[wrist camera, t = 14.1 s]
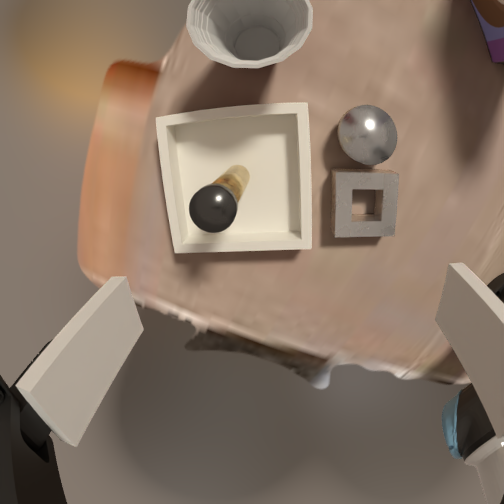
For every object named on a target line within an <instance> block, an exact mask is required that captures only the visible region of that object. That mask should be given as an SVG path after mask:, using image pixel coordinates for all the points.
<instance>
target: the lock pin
mask: <svg viewBox="0 0 504 504" xmlns="http://www.w3.org/2000/svg"><path fill="white" fill-rule="evenodd" d="M249 179H250V175H249V172H248V170H247V169H246V168H245V167H244V166H241V165H233V166H231V167H230V168H229V169H227V170H226V171H225V172H224V173H223V174H222V175H221V176H219V177H218V178H217V179H216V180H215V181H214V182H213V183H212V184H208V185H206V186H204V187H202V188H201V189H200V190H198V191H197V192H196V193H195V194H194V195H193V197H192V198H191V200H190V203H189V214H190V217H191V219H192V221H193V223H194V224H195V225H196V226H197V227H198V228H200V229H201V230H203V231H206V232H209V233H218V232H222V231H224V230H226V229H227V228H228V227H230V225H231V224H232V223H233V221H234V219H235V217H236V214H237V211H238V202H239V200H240V198H241V196H242V194H243V192H244V190H245V188H246V186H247V184H248V182H249Z"/></svg>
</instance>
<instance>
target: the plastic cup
mask: <svg viewBox="0 0 504 504" xmlns="http://www.w3.org/2000/svg"><path fill="white" fill-rule="evenodd" d="M312 17H313V8H312V6H311V4H310V2H309V0H192V1H191V3H190V4H189V6H188V13H187V24H186V27H187V29H188V32H189V34H190V36H191V39H192V41H193V44H194V45H195V46H196V47H197V48H198V49H199V50H200V51H201V52H203V53H204V54H205V55H206V56H207V57H208V58H209V59H211V60H213V61H216V62H219V63H222V64H224V65H227V66H230V67H232V68H261V67H264V66H267V65H271V64H274V63H278V62H281V61H283V60H285V59H286V58H287V57H289V56H290V55H291V54H293V53H294V52H295V51H297V50H298V49H300V48H301V47H302V45H303V43H304V42H305V40H306V38H307V37H308V35H309V33H310V31H311V30H312Z"/></svg>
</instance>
